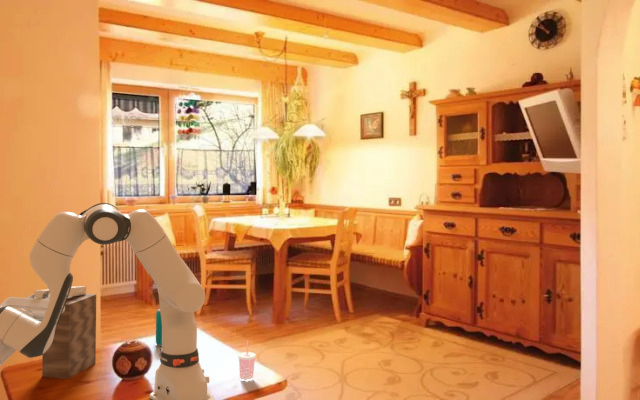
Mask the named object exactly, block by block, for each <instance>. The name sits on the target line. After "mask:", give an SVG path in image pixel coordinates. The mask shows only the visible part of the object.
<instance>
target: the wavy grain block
mask: <svg viewBox="0 0 640 400" xmlns="http://www.w3.org/2000/svg"><path fill="white" fill-rule="evenodd" d="M96 345H97V294H94V293H86V295H79V296H71V297H68V298H67V301H66V303H65V311H64V312H63V313H62V314H61V317H60V319H59V322H58V325H57V328H56V331H55V334H54V338H53V342H52V344H51V346H50V347H49V349H48V350H47V351H46V352H45V353H44V354H43V355H42V359H41V361H42V369H41V370H42V372H41V373H42V374H41V375H42V377H43V378H44V377H45V378H54V379H62V380H63V379H64V380H70V379H72V378H73V377H74V376H76V375H78V374H80V373H81V372H83V371H85V370H86V369H89V368H90V367H91V366H93V365H95V364H96V361H97V360H96V357H97V356H96V352H97V351H96V350H97V349H96V348H97V346H96Z"/></svg>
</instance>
